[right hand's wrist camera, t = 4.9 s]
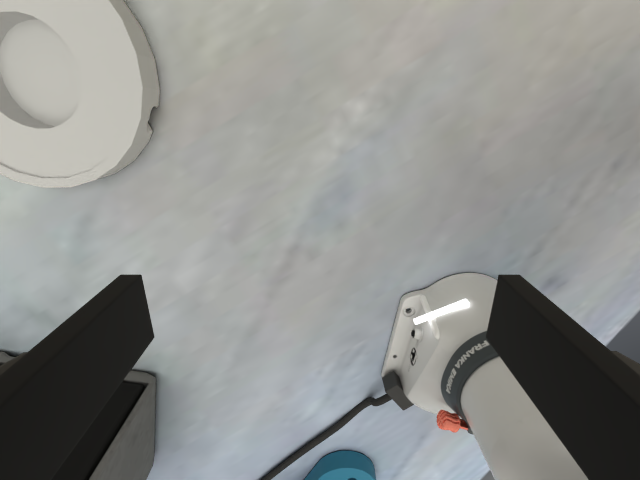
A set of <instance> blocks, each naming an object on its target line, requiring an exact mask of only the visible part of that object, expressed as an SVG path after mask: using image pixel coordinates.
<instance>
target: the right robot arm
mask: <svg viewBox="0 0 640 480" xmlns="http://www.w3.org/2000/svg"><path fill="white" fill-rule="evenodd" d="M153 338H154V333H153V328H152V323H151V319H150V314H149V309H148V304H147V299H146V295H145V290H144V285H143V280H142V275H120V276H119V277H117V278H116V279H115V280H114V281H113V282H111V283H110V284H109V285H108V286H107V287H105V288H104V289H103V290H102V291H101V292H99V293H98V294H97V295H96V296H95V297H93V298H92V299H91V300H90V301H89V302H87V303H86V304H85V305H84V306H83V307H81V308H80V309H79V310H78V311H77V312H75V313H74V314H73V315H72V316H71V317H69V318H68V319H67V320H66V321H65V322H63V323H62V324H61V325H60V326H59V327H58V328H56V329H55V330H54V331H53V332H52V333H50V334H49V335H48V336H47V337H46V338H44V339H43V340H42V341H41V342H40V343H38V344H37V345H36V346H35V347H34V348H32V349H31V350H30V351H29V352H24V353H22V354H20V355H18V356H17V357H15V358H13V359H11V360H9V361H8V362H6V363H4V364H2V365H1V366H0V480H52V478H53V477H54V475H55V474H56V473H57V471H58V470H59V468H60V467H61V466H62V464H63V463H64V462H65V460H66V459H67V457H68V456H69V455H70V453H71V452H72V451H73V449H74V448H75V446H76V445H77V444H78V442H79V441H80V439H81V438H82V437H83V435H84V434H85V433H86V431H87V430H88V428H89V427H90V426H91V424H92V423H93V421H94V420H95V419H96V417H97V416H98V415H99V413H100V412H101V410H102V409H103V408H104V406H105V405H106V403H107V402H108V401H109V399H110V398H111V397H112V395H113V394H114V392H115V391H116V390H117V388H118V387H119V385H120V384H121V383H122V381H123V380H124V379H125V377H126V376H127V374H128V373H129V372H130V370H131V369H132V367H133V366H134V365H135V363H136V362H137V361H138V359H139V358H140V356H141V355H142V354H143V352H144V351H145V350H146V348H147V347H148V345H149V344H150V343H151V341H152V340H153ZM486 338H487V340H488V341H489V343H490V344H491V345H492V347H493V348H494V350H495V351H496V352H497V354H498V355H499V356H500V358H501V359H502V361H503V362H504V363H505V365H506V366H507V367H508V369H509V370H510V372H511V373H512V374H513V376H514V377H515V379H516V380H517V381H518V383H519V384H520V385H521V387H522V388H523V390H524V391H525V392H526V394H527V395H528V397H529V398H530V399H531V401H532V402H533V403H534V405H535V406H536V408H537V409H538V410H539V412H540V413H541V415H542V416H543V417H544V419H545V420H546V421H547V423H548V424H549V426H550V427H551V428H552V430H553V431H554V433H555V434H556V435H557V437H558V438H559V439H560V441H561V442H562V444H563V445H564V446H565V448H566V449H567V451H568V452H569V453H570V455H571V456H572V457H573V459H574V460H575V462H576V463H577V464H578V466H579V467H580V468H581V470H582V471H583V473H584V474H585V475H586V477H587V478H588V480H640V364H639V363H637V362H635V361H633V360H631V359H630V358H628V357H626V356H624V355H622V354H621V353H619V352H617V351H610V350H609V349H608V348H606V347H605V346H604V345H603V344H602V343H600V342H599V341H598V340H597V339H596V338H594V337H593V336H592V335H591V334H590V333H588V332H587V331H586V330H585V329H584V328H582V327H581V326H580V325H579V324H578V323H577V322H575V321H574V320H573V319H572V318H571V317H569V316H568V315H567V314H566V313H565V312H563V311H562V310H561V309H560V308H559V307H557V306H556V305H555V304H554V303H553V302H551V301H550V300H549V299H548V298H547V297H545V296H544V295H543V294H542V293H541V292H539V291H538V290H537V289H536V288H535V287H533V286H532V285H531V284H530V283H529V282H527V281H526V280H525V279H524V278H523V277H521V276H520V275H498V280H497V285H496V290H495V295H494V299H493V304H492V309H491V314H490V319H489V323H488V328H487V333H486Z"/></svg>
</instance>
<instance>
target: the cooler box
mask: <svg viewBox="0 0 640 480" xmlns="http://www.w3.org/2000/svg"><path fill="white" fill-rule="evenodd" d="M13 358H15V357H11V356H9V355H8V354H6V353H5V352H1V351H0V366H1V365H2V364H4V363H6V362H8V361H9V360H11V359H13ZM155 402H156V378H155V377H154V376H152V375H150V374H148V373H146V372H139V371H132V370H131V371H130V372H129V373H128V374H127V376H126V377H125V379H124V380H123V381H122V383H121V384H120V385H119V387H118V388H117V390H116V391H115V392H114V394H113V395H112V397H111V398H110V399H109V401H108V402H107V403H106V405H105V406H104V408H103V409H102V410H101V412H100V413H99V415H98V416H97V417H96V419H95V420H94V421H93V423H92V424H91V426H90V427H89V428H88V430H87V431H86V433H85V434H84V435H83V437H82V438H81V439H80V441H79V442H78V444H77V445H76V446H75V448H74V449H73V451H72V452H71V453H70V455H69V456H68V457H67V459H66V460H65V462H64V463H63V464H62V466H61V467H60V468H59V470H58V471H57V473H56V474H55V475H54V477H53V478H52V480H146V479H147V477H148V475H149V472H150V470H151V468H152V466H153V461H154V449H155Z"/></svg>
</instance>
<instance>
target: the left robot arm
mask: <svg viewBox="0 0 640 480" xmlns="http://www.w3.org/2000/svg"><path fill="white" fill-rule="evenodd" d="M496 285H497V280H496V279H494V278H492V277H490V276H487V275H484V274H478V273H461V274H456V275H452V276H449V277H446V278H444V279H441V280H440V281H438V282H436V283H434V284H433V285H431V286H429V287H428V288H426V289H423V290H418V291H414V292H410V293H407V294H405V295H404V296H403V297H402V298H401V300H400V304H399V307H398V311H397V315H396V319H395V323H394V326H393V330H392V334H391V338H390V342H389V345H388V349H387V353H386V357H385V361H384V365H383V368H382V373H381V376H382V379H383V383H384V388H385V392H386V393H387V394H385V395H383V396H381V397H379V398H377V399H375V398H368V399H366V400H364V401H363V402H361V403H360V404H358V405H357V406H356V407H355V408H354V409H352V410H351V411H350V412H349V413H348V414H347V415H346V416H345V417H343V418H342V419H341V420H340V421H339V422H337V423H336V424H335V425H333V426H332V427H331V428H329V429H328V430H326V431H325V432H324V433H322V434H321V435H319V436H318V437H317V438H315V439H314V440H312V441H311V442H309V443H308V444H307V445H305V446H304V447H303V448H301V449H300V450H298V451H297V452H296V453H294V454H293V455H292V456H290V457H289V458H288V459H286V460H285V461H284V462H283V463H281V464H280V465H279V466H277V467H276V468H275V469H274V470H272V471H271V472H270V473H269V474H267V475H266V476H265V477H264V478H262V479H261V480H271V479H272V478H273V477H275V476H276V475H277V474H278V473H280V472H281V471H282V470H284V469H285V468H286V467H288V466H289V465H290V464H292V463H293V462H294V461H296V460H297V459H298V458H300V457H301V456H302V455H304V454H305V453H307V452H308V451H309V450H311V449H312V448H314V447H315V446H316V445H318V444H319V443H321V442H322V441H324V440H325V439H327V438H328V437H329V436H331V435H332V434H334V433H335V432H336V431H338V430H339V429H340V428H342V427H343V426H344V425H345V424H346V423H348V422H349V421H350V420H351V419H352V418H353V417H354V416H355V415H357V414H358V413H359V412H360V411H361V410H363V409H364V408H366V407H367V406H369V405H373V406H379V405H382V404H384V403H386V402H388V401H389V400H391V399H393V400H394V401H395V402H396V403H397V404H398V405H399V407H400V408H401V409H402V410H405V409H407V408H409V407H410V406H412V405H416V406H417V407H419V408H421V409H423V410H425V411H428V412H431V413H434V414H437V425H438V426H439V428H441V429H443V430H451V431H452V432H457V431H458V430H459V428H462V429H465V430H467V431H468V433H470V434H473V435H474V436H475V438H476V441H477V443H478V445H479V447H480V449H481V451H482V453H483V455H484V457H485V460H486V462H487V464H488V466H489V468H490V470H491V472H492V474H493V477H494V479H495V480H588V478H587V477H586V475H585V474H584V473H583V471H582V470H581V468H580V467H579V466H578V464H577V463H576V462H575V460H574V459H573V457H572V456H571V455H570V453H569V452H568V451H567V449H566V448H565V446H564V445H563V444H562V442H561V441H560V439H559V438H558V437H557V435H556V434H555V433H554V431H553V430H552V428H551V427H550V426H549V424H548V423H547V421H546V420H545V419H544V417H543V416H542V415H541V413H540V412H539V410H538V409H537V408H536V406H535V405H534V403H533V402H532V401H531V399H530V398H529V397H528V395H527V394H526V392H525V391H524V390H523V388H522V387H521V385H520V384H519V383H518V381H517V380H516V379H515V377H514V376H513V374H512V373H511V372H510V370H509V369H508V367H507V366H506V365H505V363H504V362H503V361H502V359H501V358H500V356H499V355H498V354H497V352H496V351H495V350H494V348H493V347H492V345H491V344H490V343H489V341H488V340H487V338H486V333H487V328H488V323H489V319H490V314H491V309H492V304H493V299H494V295H495V290H496ZM407 308H410V310H408V311H406V309H407Z"/></svg>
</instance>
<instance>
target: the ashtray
mask: <svg viewBox="0 0 640 480" xmlns="http://www.w3.org/2000/svg"><path fill="white" fill-rule="evenodd" d="M159 96H160V87H159V81H158V75H157V69H156V63H155V58H154V56H153V53H152V51H151V48H150V46H149V43H148V41H147V39H146V36H145V34H144V31H143V29H142V27H141V26H140V24H139V23H138V21H137V20H136V18H135V17H134V15H133V14H132V12H131V11H130V9H129V8H128V6H127V5H126V3H125V2H124V0H0V174H1V175H3V176H6V177H8V178H10V179H12V180H14V181H17V182H21V183H26V184H30V185H34V186H39V187H43V188H60V187H74V186H77V185H80V184H84V183H87V182H90V181H94V180H97V179H100V178H103V177H106V176H109V175H112V174H116V173H117V172H119V171H120V170H121V169H123V168H124V167H126V166H127V165H129V164H130V163H132V162H133V161H135V159H136V158H137V157H138V155H139V154H140V153H141V151H142V150H143V149H144V148H145V146H146V145H147V144H148V142H149V140H150V138H151V135H152V132H153V131H152V129H151V127H150V125H149V124H148V120H149V117H150V113H151V110H152V108H153V107H154V106H155V107H156V108H157V107H158V106H159Z"/></svg>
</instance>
